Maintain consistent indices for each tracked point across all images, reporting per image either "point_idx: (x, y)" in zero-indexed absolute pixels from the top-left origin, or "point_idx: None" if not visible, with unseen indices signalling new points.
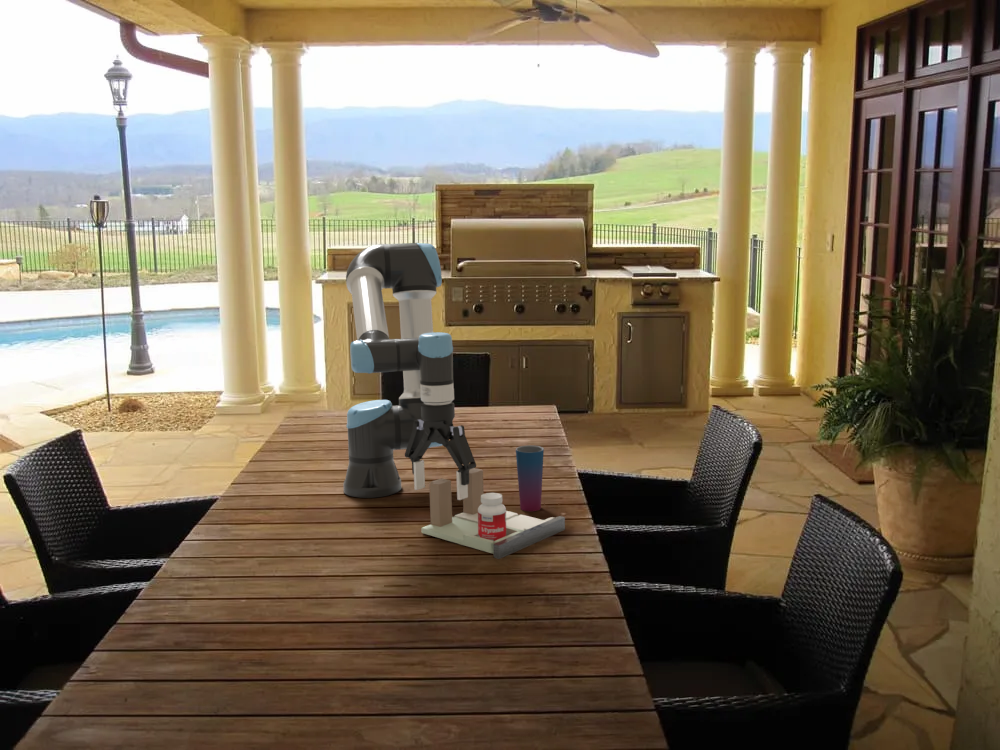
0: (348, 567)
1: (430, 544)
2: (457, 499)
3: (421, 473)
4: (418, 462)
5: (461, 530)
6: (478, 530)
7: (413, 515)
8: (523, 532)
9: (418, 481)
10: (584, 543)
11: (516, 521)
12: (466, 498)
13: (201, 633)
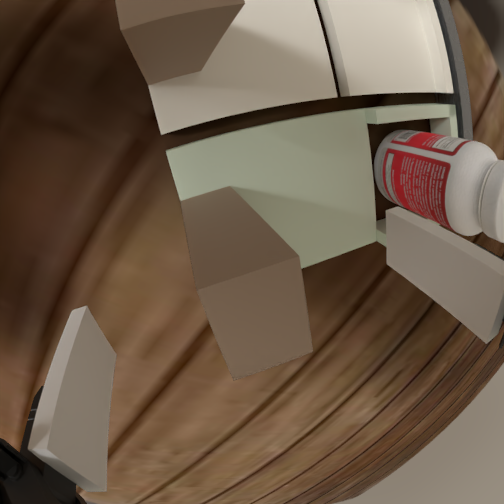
0: (285, 430)
1: None
2: (388, 264)
3: (82, 390)
4: (90, 477)
5: (319, 204)
6: (413, 211)
7: (26, 233)
8: (466, 124)
9: (103, 375)
10: (476, 39)
11: (361, 22)
12: (167, 66)
13: (320, 489)
